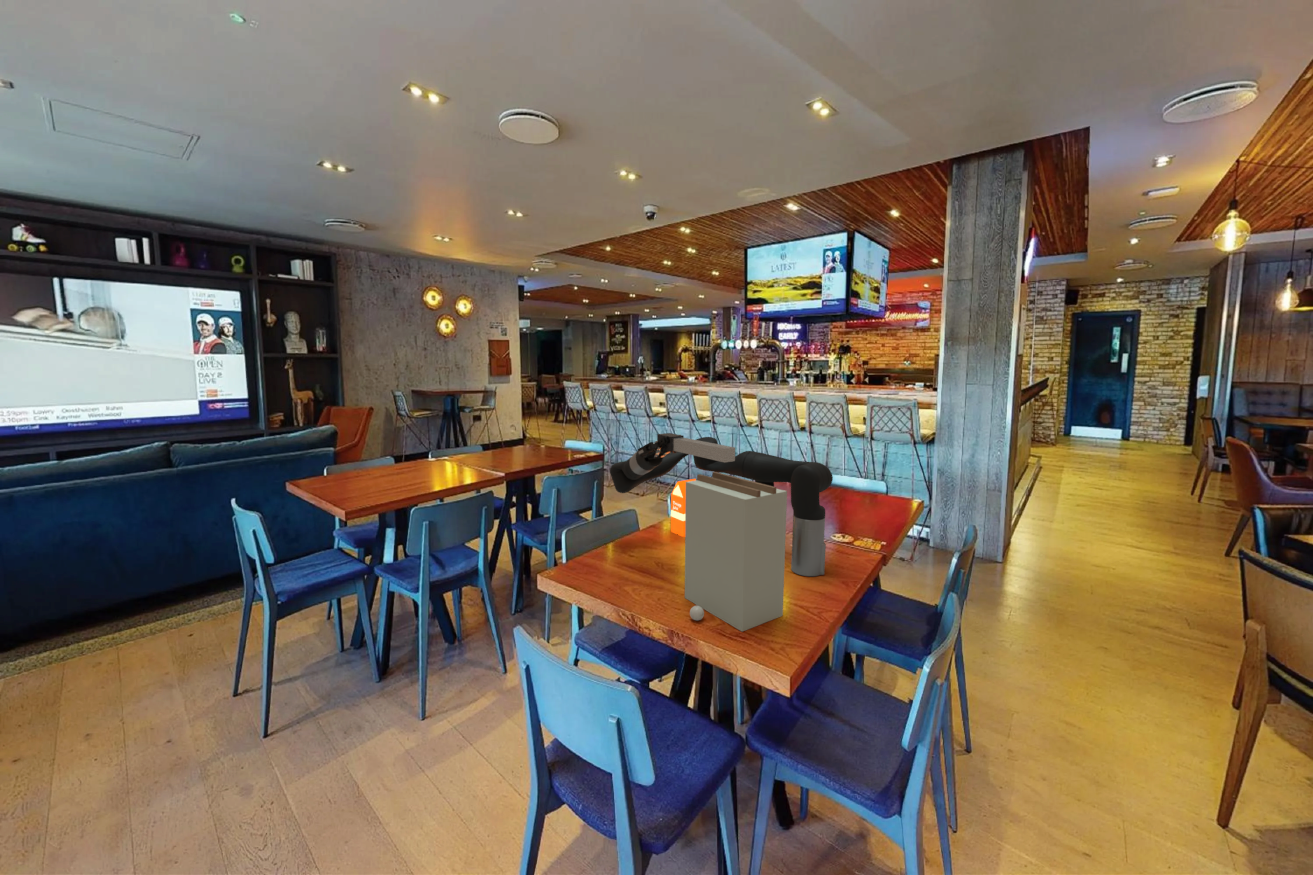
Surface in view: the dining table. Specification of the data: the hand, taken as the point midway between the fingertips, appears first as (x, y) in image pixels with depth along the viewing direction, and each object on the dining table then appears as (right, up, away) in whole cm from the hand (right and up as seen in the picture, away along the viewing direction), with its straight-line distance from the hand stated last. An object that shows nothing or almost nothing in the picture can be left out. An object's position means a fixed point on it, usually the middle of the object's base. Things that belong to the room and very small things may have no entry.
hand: (673, 438), depth 152 cm
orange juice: (+6, -35, +45) cm, 58 cm away
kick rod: (+5, -5, -7) cm, 10 cm away
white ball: (+5, -45, -22) cm, 50 cm away
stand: (+15, -44, -15) cm, 49 cm away
